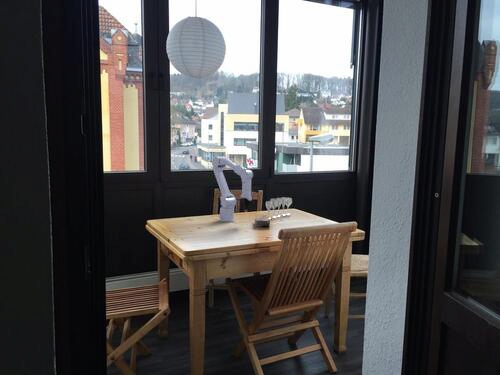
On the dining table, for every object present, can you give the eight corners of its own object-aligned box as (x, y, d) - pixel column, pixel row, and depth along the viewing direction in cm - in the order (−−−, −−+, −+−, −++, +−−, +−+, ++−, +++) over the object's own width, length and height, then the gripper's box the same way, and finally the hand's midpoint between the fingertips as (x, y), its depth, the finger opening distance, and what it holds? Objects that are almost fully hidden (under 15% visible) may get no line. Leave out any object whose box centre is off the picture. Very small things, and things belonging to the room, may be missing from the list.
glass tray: (257, 226, 266) (257, 220, 266) (254, 224, 271) (254, 218, 271) (267, 225, 268) (267, 219, 268) (264, 224, 273) (264, 218, 273)
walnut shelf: (256, 228, 261) (256, 220, 260) (256, 222, 278) (256, 215, 277) (269, 228, 261) (269, 220, 260) (268, 222, 278) (269, 215, 277)
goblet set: (269, 219, 289) (270, 200, 287) (263, 218, 293) (263, 199, 291) (293, 214, 310) (293, 196, 308) (286, 213, 314) (287, 195, 312)
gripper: (237, 187, 274) (236, 208, 276) (244, 190, 261) (243, 212, 263) (247, 187, 277) (247, 207, 278) (254, 190, 263) (254, 211, 265)
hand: (246, 209), depth 271 cm, fingers closed
